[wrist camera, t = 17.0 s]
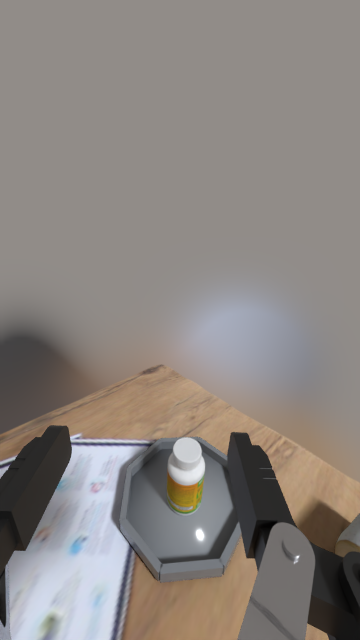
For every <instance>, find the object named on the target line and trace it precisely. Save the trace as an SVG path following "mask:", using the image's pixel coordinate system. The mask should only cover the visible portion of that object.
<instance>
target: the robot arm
mask: <svg viewBox="0 0 360 640" xmlns="http://www.w3.org/2000/svg"><path fill="white" fill-rule="evenodd" d="M71 453H72V447H71V441H70V435H69V430H68V427H67V426H55V425H51V426H49V427H48V428H47V429H46V431H45V432H44V434H43V435H42V436H41V437H35V438H34V439H33V440H32V441H31V442H29V443H28V444H27V445H26V446H24V448H23V449H22V450H21V452H20V453H19V454H18V456H17V457H16V459H15V461H13V462H12V464H11V465H10V466H9V468H8V470H6V472H5V473H4V474H3V476H2V477H1V478H0V640H11V633H10V613H9V578H8V561H9V559H10V558H11V556H12V554H13V552H14V550H16V551H25V550H26V548H27V546H28V544H29V542H30V540H31V538H32V536H33V534H34V532H35V530H36V528H37V526H38V524H39V522H40V520H41V518H42V516H43V514H44V512H45V510H46V508H47V506H48V504H49V502H50V500H51V498H52V496H53V494H54V492H55V490H56V488H57V486H58V484H59V481H60V479H61V477H62V475H63V473H64V471H65V469H66V467H67V465H68V463H69V461H70V458H71ZM227 463H228V470H229V475H230V480H231V485H232V490H233V495H234V499H235V504H236V509H237V514H238V519H239V524H240V529H241V533H242V538H243V543H244V548H245V553H246V558H255V561H256V565H257V570H258V574H257V577H256V580H255V584H254V587H253V590H252V593H251V597H250V600H249V603H248V606H247V610H246V613H245V616H244V619H243V623H242V626H241V629H240V632H239V636H238V639H237V640H305V635H306V628H307V623H308V624H310V625H312V626H314V627H316V628H318V629H320V630H321V631H323V632H325V633H327V635H328V638H329V640H360V552H356V551H351V552H348V553H347V554H346V555H345V556H344V557H341V556H339V555H337V554H334V553H332V552H329V551H327V550H325V549H322V548H320V547H318V546H316V545H314V544H313V543H311V542H310V541H309V540H308V539H307V538H306V537H305V535H304V534H303V533H302V532H301V531H300V530H299V529H298V528H297V526H296V525H295V523H294V521H293V519H292V516H291V514H290V511H289V509H288V506H287V504H286V501H285V499H284V496H283V493H282V491H281V488H280V486H279V483H278V481H277V480H276V476H275V473H274V471H273V470H272V466H271V463H270V461H269V458H268V456H267V455H266V453H265V452H264V451H263V450H262V448H261V447H260V446H259V445H252V444H251V441H250V438H249V435H248V434H247V433H238V432H232V433H231V436H230V442H229V448H228V454H227Z"/></svg>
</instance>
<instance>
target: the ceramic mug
mask: <svg viewBox="0 0 360 640" xmlns="http://www.w3.org/2000/svg"><path fill="white" fill-rule="evenodd" d="M351 551H356V552H360V514H359V515H358V516H357V517H356V518H355V519H354V520H353V521H352V523H351V524H350V525H349V526H348V527H347V528H346V529H345V530H344V531H343V532H342V533H341V535H340V536H339V538H338V540H337V542H336V545H335V554H337V555H339V556H341V557H344V556H345V555H346V554H347V553H348V552H351Z"/></svg>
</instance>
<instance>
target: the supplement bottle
mask: <svg viewBox="0 0 360 640" xmlns="http://www.w3.org/2000/svg"><path fill="white" fill-rule="evenodd" d="M201 453H202V450H201V446H200V444H199V443H198V442H197V441H196V440H194V439H192V438H181V439H179V440H177V441H176V443H175V444H174V446H173V452H172V454H171V455H170V457H169V460H168V467H167V501H168V504H169V506H170V508H171V509H172V510H173V511H174V512H175V513H177V514H179V515H183V516H187V515H191V514H193V513H194V512H196V511H197V510H198V508H199V506H200V504H201V501H202V493H203V483H204V474H205V462H204V459H203V457H202V455H201Z"/></svg>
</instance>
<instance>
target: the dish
mask: <svg viewBox="0 0 360 640" xmlns="http://www.w3.org/2000/svg"><path fill="white" fill-rule="evenodd" d="M181 438H192V439H194V440H196V441H197V442H198V443H199V444H200V446H201V450H202V453H201V455H202V457H203V459H204V462H205V474H204V483H203V493H202V501H201V504H200V506H199V508H198V510H197V511H196V512H194V513H193V514H191V515H187V516H183V515H179V514H177V513H175V512H174V511H173V510H172V509H171V508H170V506H169V504H168V501H167V467H168V460H169V457H170V455H171V454H172V452H173V446H174V444H175V443H176V441H177V440H179V439H181ZM161 449H162V450H161ZM132 476H133V477H132ZM119 522H120V530H121V532H122V533H123V535H124V536H125V537H126V539H127V540H128V541H129V543H130V544H131V545H132V547H133V548H134V550H135V551H136V552H137V554H138V555H139V556H140V558H141V559H142V560H143V562H144V563H145V564H146V566H147V567H148V568H149V570H150V571H151V572H152V574H153V575H154V577H155V578H156V579H157V581H159V580H160V583H161V582H171V581H181V580H192V579H201V578H211V577H221V576H222V574H223V575H224V573H225V571H226V569H227V566H228V564H229V562H230V560H231V558H232V556H233V554H234V551H235V549H236V547H237V545H238V543H239V541H240V539H241V537H242V533H241V529H240V524H239V519H238V514H237V509H236V504H235V499H234V495H233V490H232V485H231V480H230V475H229V470H228V463H227V456H226V455H225V454H223V453H222V452H221V451H219V450H218V449H216V448H215V447H213V446H212V445H210V444H209V443H207V442H206V441H205V440H203V439H202V438H200V437H199V438H198V437H179V438H160V439H158V440H157V441H156V442H155V443H154V444H153V445H152V446H150V447H149V448H148V449H147V450H146V451H145V452H144V453H142V454H141V455H140V456H139V457H138V458H137V459H136V460H134V461H133V462H132V463H131V464H130V465H129V466H128V468H127V471H126V478H125V485H124V492H123V499H122V506H121V512H120V519H119Z"/></svg>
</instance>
